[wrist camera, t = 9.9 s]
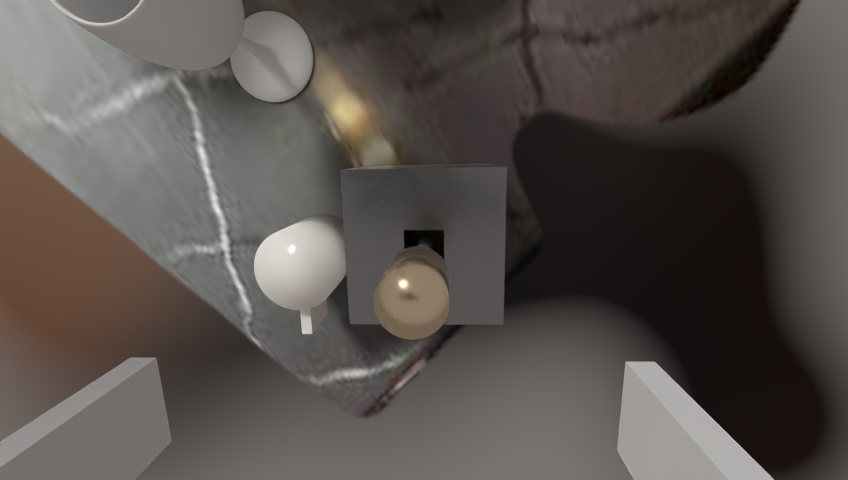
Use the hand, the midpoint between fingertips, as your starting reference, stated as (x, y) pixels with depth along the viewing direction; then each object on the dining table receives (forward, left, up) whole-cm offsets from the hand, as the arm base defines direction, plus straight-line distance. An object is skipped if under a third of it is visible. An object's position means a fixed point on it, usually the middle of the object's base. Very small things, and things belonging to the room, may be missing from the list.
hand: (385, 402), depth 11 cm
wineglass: (-16, +17, -33) cm, 40 cm away
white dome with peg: (-12, -5, -33) cm, 35 cm away
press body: (0, 0, -32) cm, 33 cm away
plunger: (0, 0, -31) cm, 31 cm away
